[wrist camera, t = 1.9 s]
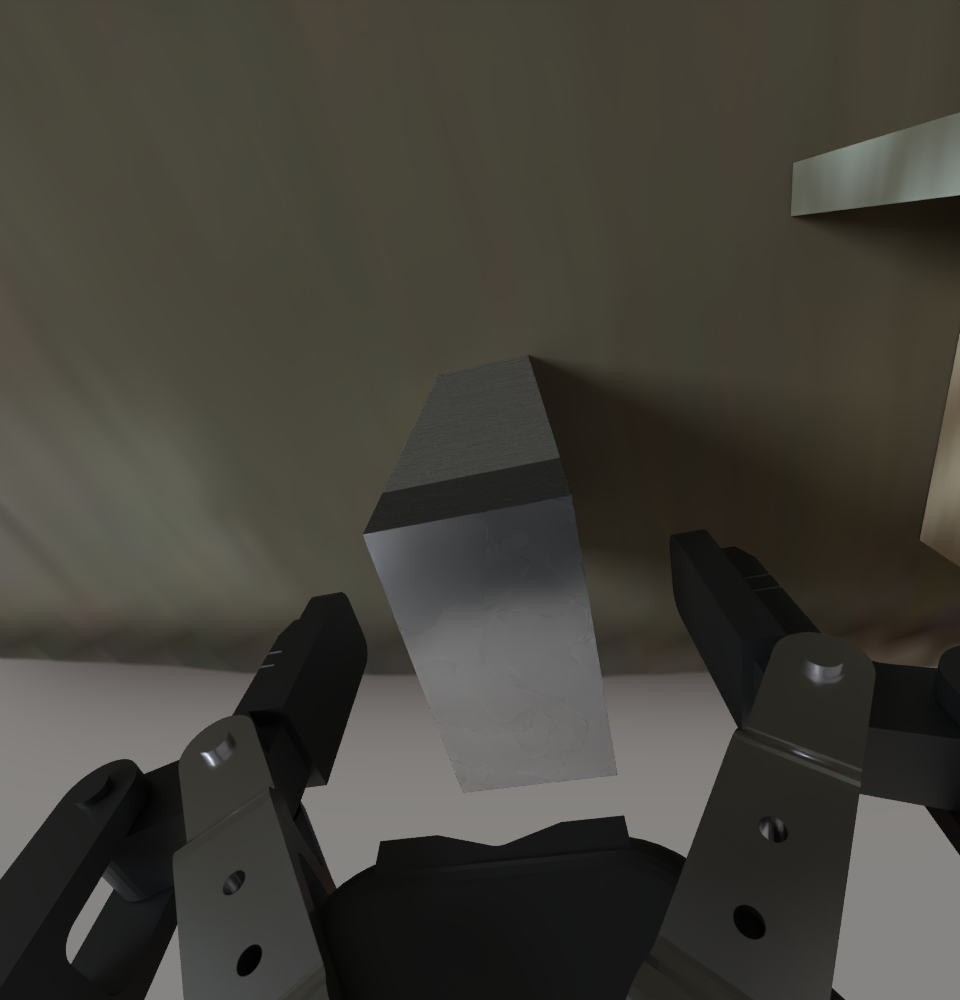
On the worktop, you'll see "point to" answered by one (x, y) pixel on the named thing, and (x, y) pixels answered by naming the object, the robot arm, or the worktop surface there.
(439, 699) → the brushed steel bar
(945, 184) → the small shelf
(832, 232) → the worktop surface
